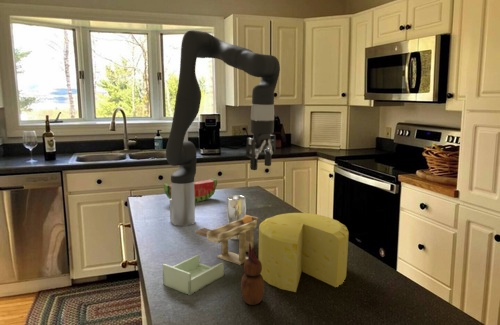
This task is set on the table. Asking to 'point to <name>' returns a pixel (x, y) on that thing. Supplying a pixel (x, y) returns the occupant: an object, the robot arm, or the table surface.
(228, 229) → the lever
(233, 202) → the beer glass
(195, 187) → the fruit slice
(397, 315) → the table surface
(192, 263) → the tray
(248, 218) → the ball
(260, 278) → the wooden figurine
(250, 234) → the fulcrum
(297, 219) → the cheese
